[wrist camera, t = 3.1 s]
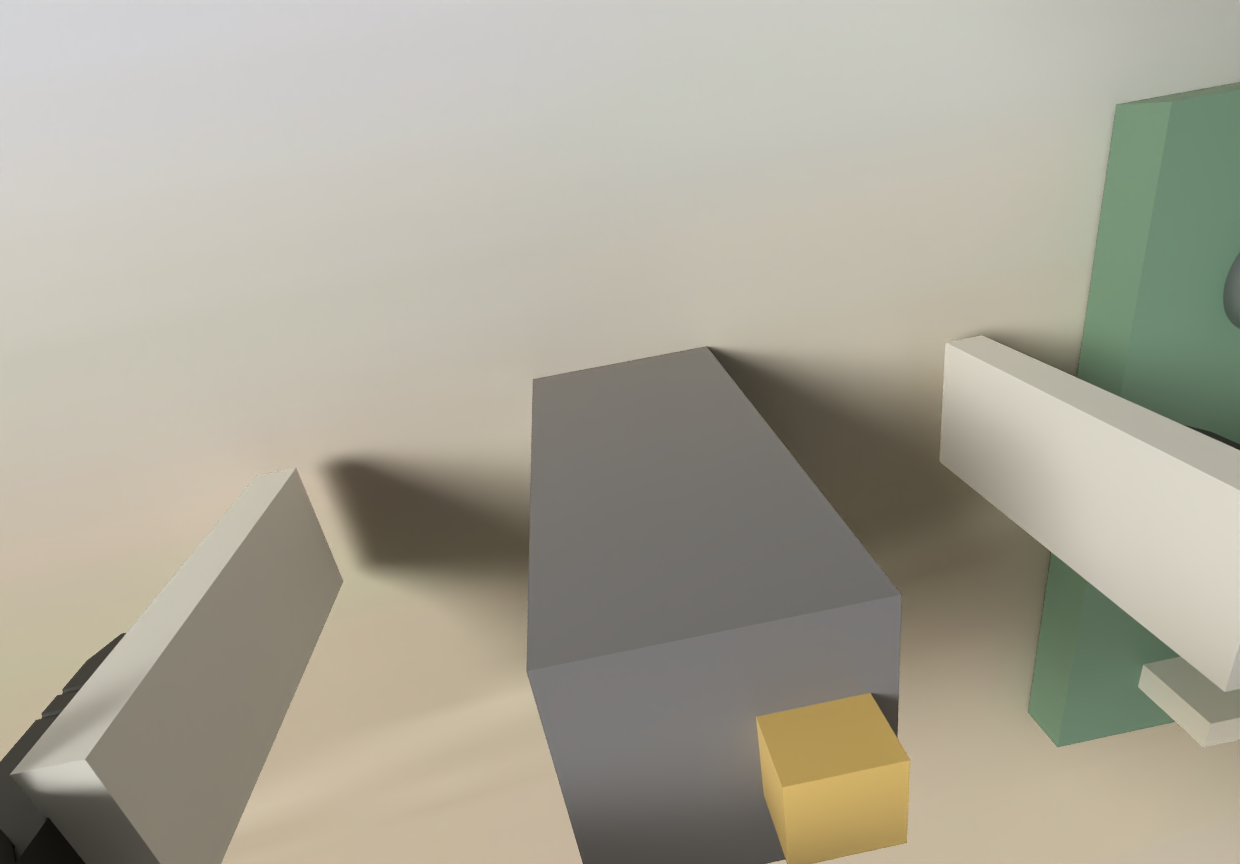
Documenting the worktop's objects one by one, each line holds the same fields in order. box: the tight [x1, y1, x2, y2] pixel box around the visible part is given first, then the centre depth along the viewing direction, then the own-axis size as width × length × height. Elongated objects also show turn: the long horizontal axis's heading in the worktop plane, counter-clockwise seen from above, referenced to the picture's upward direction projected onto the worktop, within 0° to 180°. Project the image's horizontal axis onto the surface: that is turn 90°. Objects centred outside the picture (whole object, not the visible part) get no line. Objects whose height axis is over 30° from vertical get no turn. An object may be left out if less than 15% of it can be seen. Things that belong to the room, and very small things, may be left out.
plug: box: [527, 347, 910, 864], centre depth 10 cm, size 4×4×9 cm
